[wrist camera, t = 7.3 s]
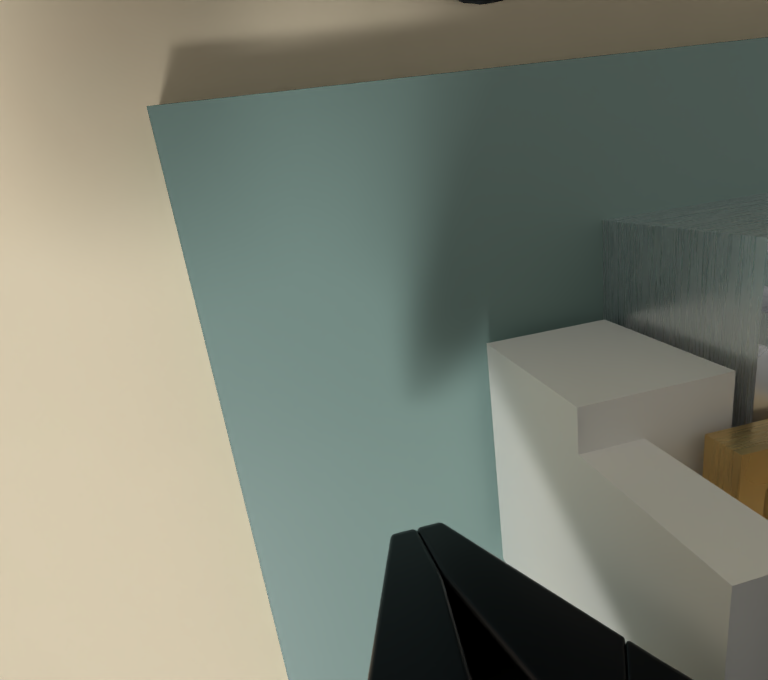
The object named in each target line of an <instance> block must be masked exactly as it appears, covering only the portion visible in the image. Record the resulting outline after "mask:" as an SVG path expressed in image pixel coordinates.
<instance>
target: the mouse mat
mask: <svg viewBox="0 0 768 680" xmlns="http://www.w3.org/2000/svg"><path fill="white" fill-rule="evenodd" d="M459 1H460V2H463V3H474V4H487V3H493V2H498V1H502V0H459Z"/></svg>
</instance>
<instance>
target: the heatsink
mask: <svg viewBox="0 0 768 680" xmlns="http://www.w3.org/2000/svg"><path fill="white" fill-rule="evenodd" d="M604 319H605V320H607V321H610V322H612V323H615V324H617V325H620V326H623V327H625V328H628V329H630V330H633V331H635V332H638V333H640V334H643V335H645V336H648V337H651V338H653V339H656V340H658V341H661V342H663V343H666V344H668V345H671V346H673V347H676V348H679V349H681V350H684V351H686V352H689V353H691V354H694V355H696V356H699V357H701V358H704V359H707V360H709V361H712V362H714V363H717V364H719V365H722V366H724V367H727V368H729V369H732V370H735V371H736V373H735V387H734V400H733V414H732V427H737V426H741V425H745V424H749V423H753V422H757V421H761V420H765V419H768V193H763V194H757V195H751V196H745V197H739V198H734V199H728V200H722V201H716V202H710V203H704V204H698V205H692V206H686V207H680V208H674V209H668V210H662V211H656V212H650V213H644V214H638V215H632V216H626V217H621V218H615V219H609V220H603V320H604ZM732 427H731V428H732Z"/></svg>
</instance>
